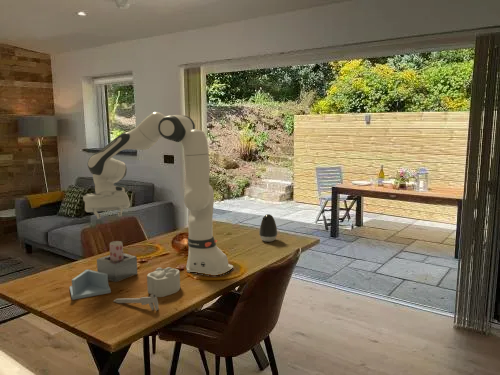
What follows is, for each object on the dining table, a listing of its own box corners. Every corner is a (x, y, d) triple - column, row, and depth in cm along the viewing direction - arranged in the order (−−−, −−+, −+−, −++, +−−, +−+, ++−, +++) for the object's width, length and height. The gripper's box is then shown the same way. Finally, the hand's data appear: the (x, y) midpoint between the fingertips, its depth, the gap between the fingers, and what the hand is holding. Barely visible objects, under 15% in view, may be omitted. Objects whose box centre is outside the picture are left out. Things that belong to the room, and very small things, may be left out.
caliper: (158, 310, 157) (158, 294, 156) (157, 312, 156) (156, 295, 155) (114, 301, 165) (113, 285, 164) (112, 302, 164) (111, 286, 163)
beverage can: (112, 273, 194) (110, 241, 191) (125, 272, 194) (123, 240, 192) (109, 277, 188) (107, 244, 186) (123, 277, 189) (121, 244, 186)
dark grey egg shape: (255, 241, 241) (255, 214, 239) (265, 237, 250) (265, 211, 247) (270, 244, 235) (270, 217, 233) (280, 239, 244) (280, 213, 241)
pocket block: (137, 273, 193) (136, 256, 191) (115, 282, 183) (114, 264, 182) (119, 268, 199) (118, 252, 198) (97, 276, 190) (96, 259, 188)
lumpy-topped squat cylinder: (144, 291, 174) (143, 270, 172) (171, 282, 183) (170, 262, 181) (159, 298, 166) (158, 277, 165) (186, 289, 176) (185, 268, 174)
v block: (69, 289, 176) (68, 272, 175) (106, 282, 182) (105, 266, 181) (72, 299, 166) (70, 282, 165) (110, 292, 172) (109, 275, 171)
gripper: (82, 190, 198) (86, 215, 191) (127, 187, 207) (132, 211, 200) (82, 198, 203) (85, 223, 196) (126, 195, 212) (131, 218, 205)
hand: (109, 217), depth 198 cm, fingers open, 8 cm apart
